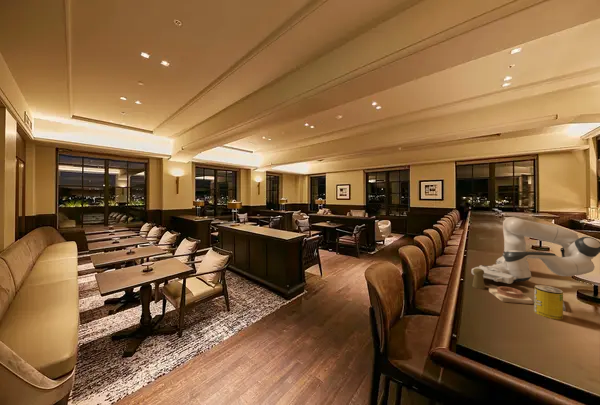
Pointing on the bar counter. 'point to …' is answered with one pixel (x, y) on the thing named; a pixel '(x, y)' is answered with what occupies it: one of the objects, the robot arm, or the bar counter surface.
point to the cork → (478, 279)
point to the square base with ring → (510, 295)
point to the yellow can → (548, 302)
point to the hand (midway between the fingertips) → (485, 277)
